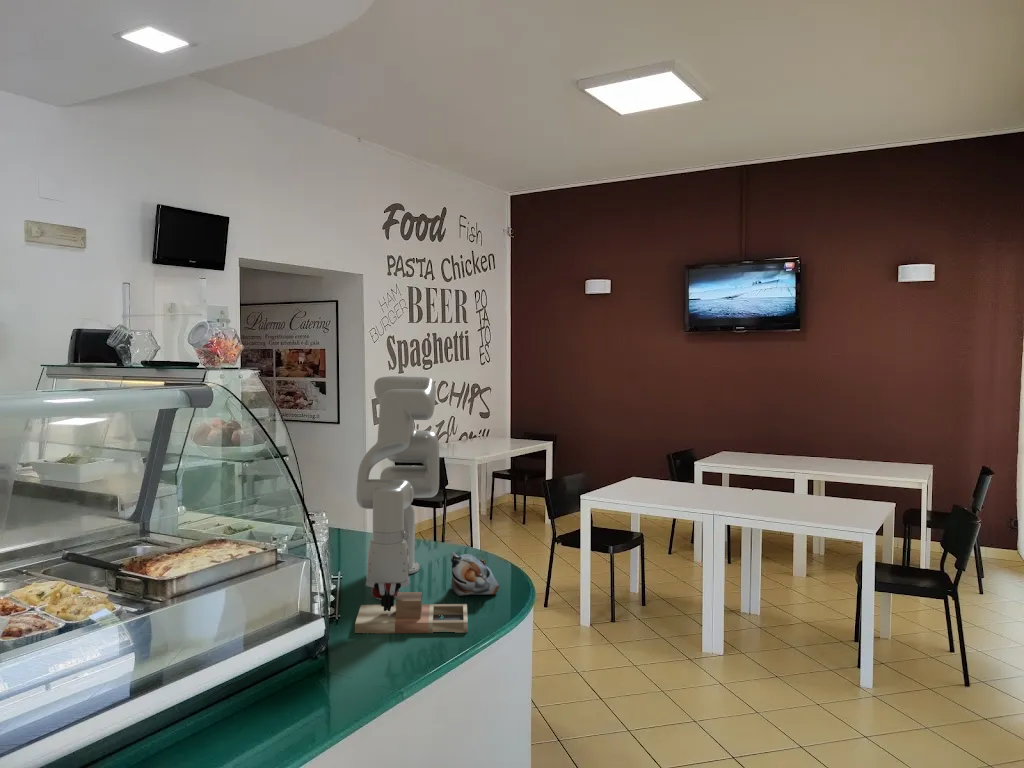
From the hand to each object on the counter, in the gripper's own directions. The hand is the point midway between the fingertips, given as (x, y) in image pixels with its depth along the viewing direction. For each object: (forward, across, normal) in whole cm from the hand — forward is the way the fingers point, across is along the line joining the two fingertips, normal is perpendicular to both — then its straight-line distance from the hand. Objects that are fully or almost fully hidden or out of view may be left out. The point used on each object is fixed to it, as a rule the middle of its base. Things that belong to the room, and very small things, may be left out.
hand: (387, 608), depth 187 cm
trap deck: (+4, -6, 0) cm, 7 cm away
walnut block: (+1, -5, 0) cm, 5 cm away
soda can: (+4, +2, -19) cm, 20 cm away
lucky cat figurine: (+4, -22, -21) cm, 31 cm away
